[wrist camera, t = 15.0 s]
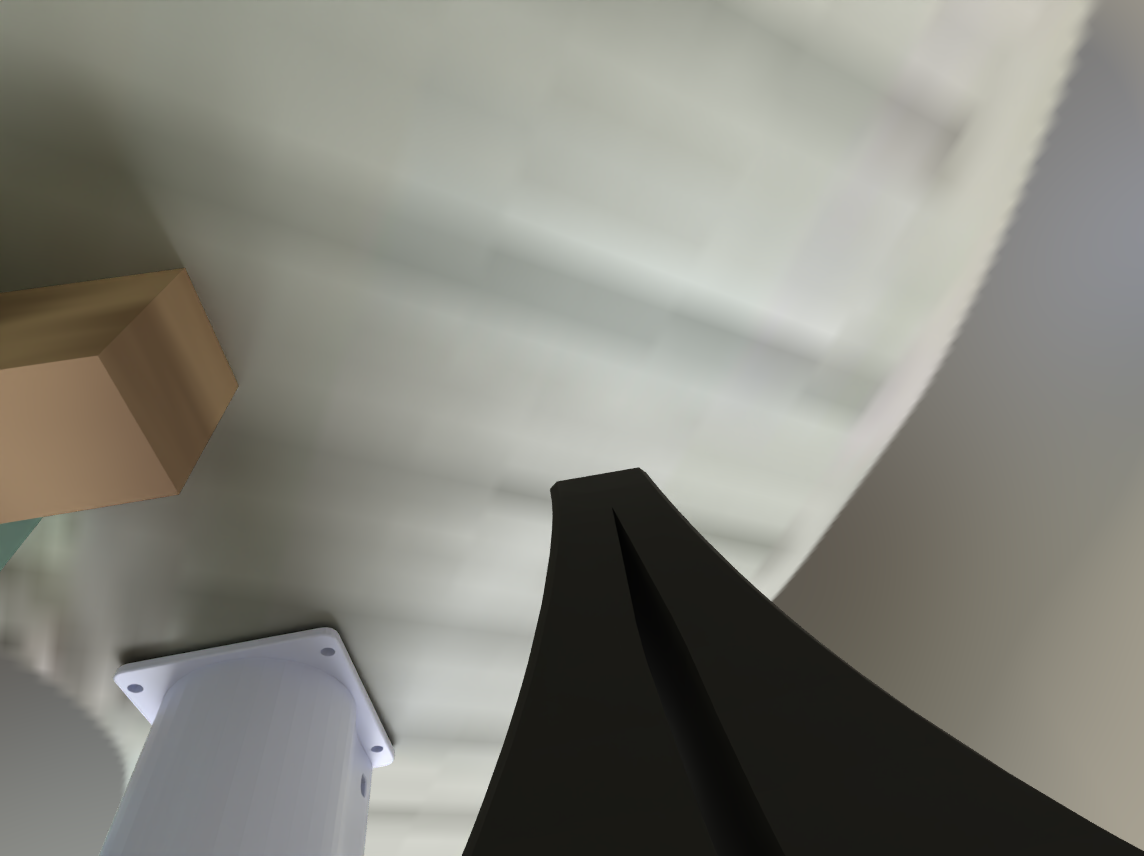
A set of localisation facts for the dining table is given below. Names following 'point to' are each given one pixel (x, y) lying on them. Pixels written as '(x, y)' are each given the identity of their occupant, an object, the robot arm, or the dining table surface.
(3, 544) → the pale green notched block
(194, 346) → the tall tan wooden block
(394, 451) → the dining table surface
